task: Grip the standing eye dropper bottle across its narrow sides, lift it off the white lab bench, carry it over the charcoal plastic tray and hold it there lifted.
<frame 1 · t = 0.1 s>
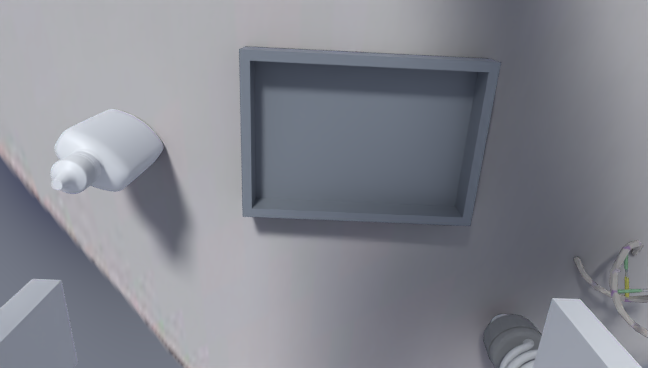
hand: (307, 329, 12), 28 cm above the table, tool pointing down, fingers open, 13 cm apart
light bulb: (498, 317, 46), on the table
tray: (360, 134, 39), on the table
eye dropper bottle: (134, 134, 39), on the table
dna model: (603, 254, 43), on the table
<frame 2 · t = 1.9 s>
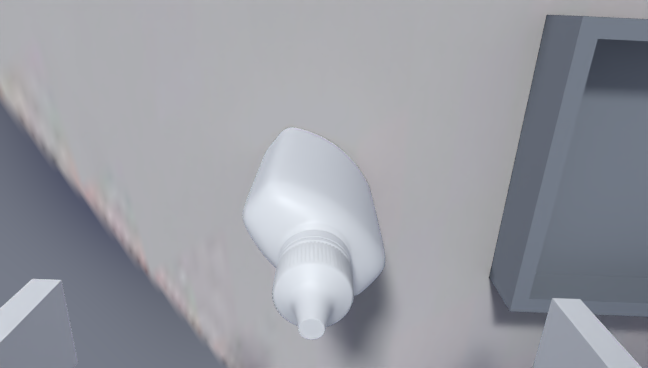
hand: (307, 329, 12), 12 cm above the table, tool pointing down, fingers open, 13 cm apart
eye dropper bottle: (318, 169, 23), on the table
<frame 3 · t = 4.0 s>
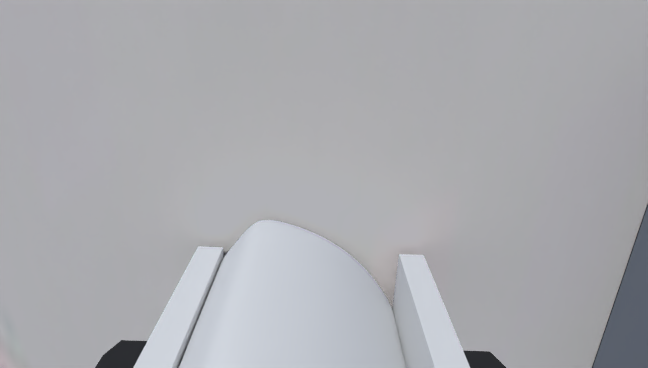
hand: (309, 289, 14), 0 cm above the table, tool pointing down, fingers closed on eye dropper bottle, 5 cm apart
eye dropper bottle: (310, 279, 14), on the table, touching gripper
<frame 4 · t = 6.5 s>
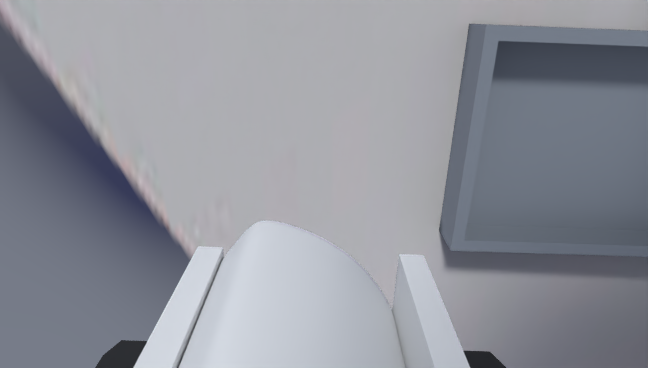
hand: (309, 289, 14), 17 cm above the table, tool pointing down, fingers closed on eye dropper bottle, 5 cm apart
tray: (601, 140, 29), on the table
eye dropper bottle: (309, 280, 14), point 16 cm above the table, touching gripper
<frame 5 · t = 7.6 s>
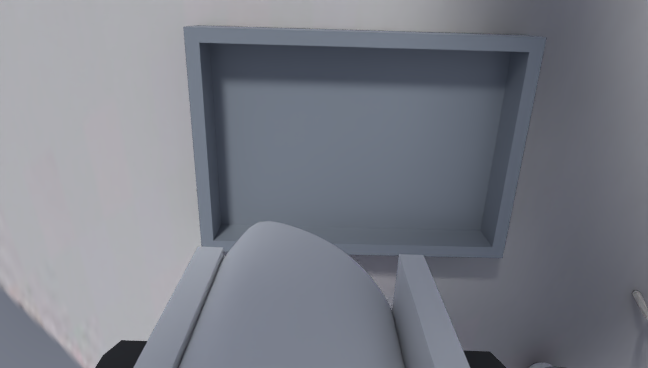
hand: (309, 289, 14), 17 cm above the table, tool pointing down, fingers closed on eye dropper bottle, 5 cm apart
light bulb: (534, 364, 37), on the table
tray: (355, 140, 29), on the table
eye dropper bottle: (309, 280, 14), point 16 cm above the table, touching gripper
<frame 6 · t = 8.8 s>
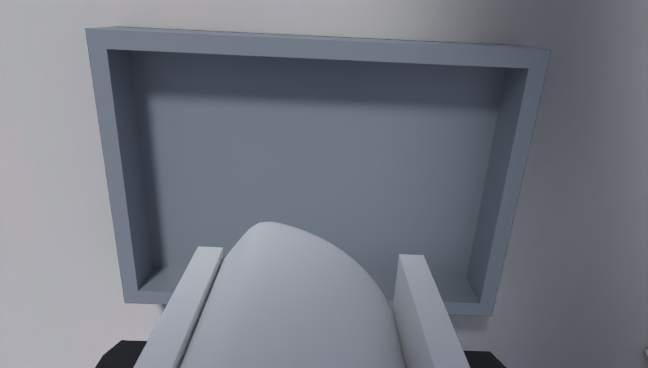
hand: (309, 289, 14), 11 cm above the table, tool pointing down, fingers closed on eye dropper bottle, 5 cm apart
tray: (315, 170, 24), on the table
eye dropper bottle: (310, 281, 14), point 11 cm above the table, touching gripper
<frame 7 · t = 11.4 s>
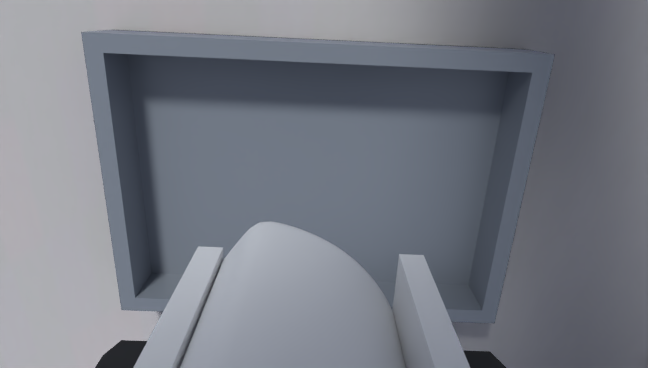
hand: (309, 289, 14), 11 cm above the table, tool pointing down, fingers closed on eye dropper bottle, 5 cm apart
tray: (315, 175, 24), on the table
eye dropper bottle: (310, 280, 14), point 10 cm above the table, touching gripper
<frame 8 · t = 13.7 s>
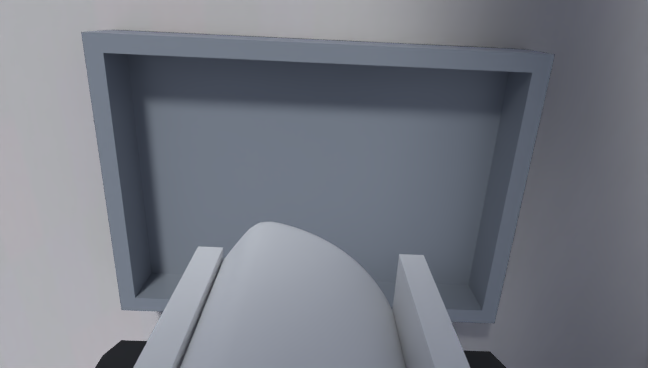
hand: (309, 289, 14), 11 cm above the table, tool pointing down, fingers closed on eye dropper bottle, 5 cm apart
tray: (315, 175, 24), on the table
eye dropper bottle: (310, 281, 14), point 10 cm above the table, touching gripper
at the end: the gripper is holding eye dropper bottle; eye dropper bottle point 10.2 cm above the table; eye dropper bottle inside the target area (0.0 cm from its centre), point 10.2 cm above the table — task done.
